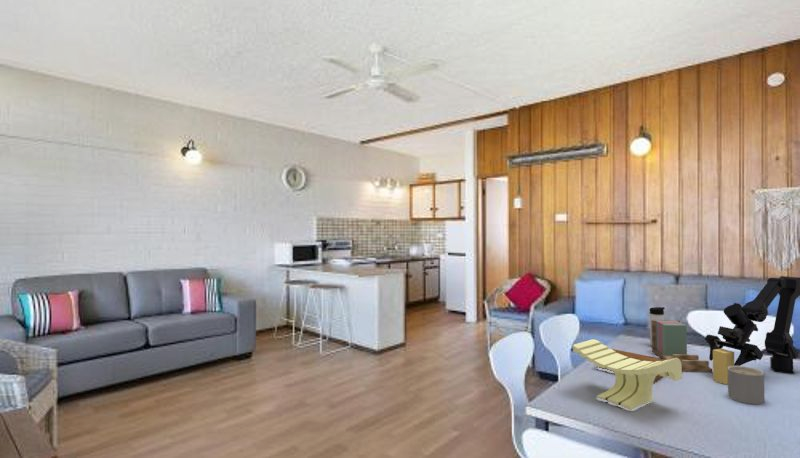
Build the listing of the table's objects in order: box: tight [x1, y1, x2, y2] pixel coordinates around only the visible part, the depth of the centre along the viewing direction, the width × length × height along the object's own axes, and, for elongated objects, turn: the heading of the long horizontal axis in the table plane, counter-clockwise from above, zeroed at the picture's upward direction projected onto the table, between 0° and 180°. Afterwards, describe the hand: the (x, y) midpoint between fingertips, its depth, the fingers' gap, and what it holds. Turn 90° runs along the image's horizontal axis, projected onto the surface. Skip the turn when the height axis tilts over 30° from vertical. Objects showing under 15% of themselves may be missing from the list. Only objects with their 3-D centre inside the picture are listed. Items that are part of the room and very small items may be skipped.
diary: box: [599, 348, 666, 384], centre depth 181 cm, size 23×19×6 cm
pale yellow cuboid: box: [712, 348, 735, 386], centre depth 166 cm, size 4×5×12 cm
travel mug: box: [649, 306, 665, 348], centre depth 214 cm, size 6×7×20 cm
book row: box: [656, 321, 688, 356], centre depth 199 cm, size 9×9×14 cm
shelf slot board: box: [651, 319, 713, 374], centre depth 191 cm, size 12×28×16 cm, turn 171°
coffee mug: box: [727, 365, 766, 405], centre depth 151 cm, size 13×10×10 cm
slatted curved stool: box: [572, 338, 683, 410], centre depth 151 cm, size 30×16×18 cm, turn 33°
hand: (722, 363), depth 166 cm, fingers open, 9 cm apart
